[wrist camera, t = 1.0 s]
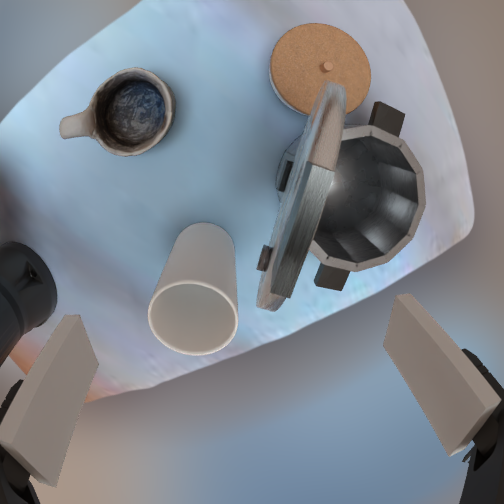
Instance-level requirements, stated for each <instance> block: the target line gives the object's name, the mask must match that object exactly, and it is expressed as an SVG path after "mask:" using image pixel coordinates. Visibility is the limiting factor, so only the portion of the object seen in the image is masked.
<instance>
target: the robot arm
mask: <svg viewBox="0 0 504 504" xmlns="http://www.w3.org/2000/svg"><path fill="white" fill-rule="evenodd" d="M56 302H57V294H56V288H55V284H54V281H53V278H52V276H51V274H50V272H49V270H48V268H47V267H46V265H45V264H44V262H43V261H42V260H41V259H40V257H39V256H38V255H37V254H36V253H35V252H33V251H32V250H31V249H30V248H28V247H26V246H25V245H22V244H20V243H16V242H9V243H5V244H3V245H2V246H0V367H1V365H2V364H3V362H4V361H5V359H6V358H7V357H8V355H9V354H10V352H11V351H12V349H13V348H14V346H15V345H16V344H17V342H18V341H19V340H20V338H21V337H22V336H23V335H24V334H26V333H27V332H29V331H31V330H32V329H33V328H35V327H39V326H41V325H42V324H44V323H45V322H46V321H47V320H48V319H49V317H50V316H51V315H52V313H53V312H54V310H55V307H56ZM383 346H384V348H385V350H386V351H387V353H388V354H389V356H390V357H391V359H392V360H393V362H394V364H395V365H396V367H397V369H398V370H399V372H400V373H401V375H402V377H403V378H404V380H405V382H406V383H407V385H408V386H409V388H410V390H411V391H412V393H413V395H414V396H415V398H416V400H417V401H418V403H419V405H420V406H421V408H422V410H423V412H424V413H425V415H426V417H427V418H428V420H429V422H430V424H431V426H432V427H433V429H434V431H435V432H436V434H437V436H438V438H439V440H440V441H441V443H442V445H443V447H444V449H445V451H446V452H447V454H448V456H451V455H454V454H455V453H458V452H459V451H461V450H463V449H465V448H466V447H467V445H468V444H469V443H470V441H471V440H473V441H474V443H475V445H474V447H473V448H472V449H471V450H470V451H469V452H468V454H466V456H465V457H464V459H463V461H462V462H465V461H466V460H467V459H468V458H469V457H470V456H471V457H470V461H469V462H468V463H469V467H468V472H467V476H466V480H465V484H464V488H463V492H462V496H461V499H460V503H459V504H504V389H503V388H502V386H501V385H500V384H499V383H498V382H497V380H496V379H495V378H494V377H493V376H492V374H491V373H489V372H488V369H487V368H486V367H485V366H483V363H482V362H481V361H480V360H479V359H478V358H477V356H476V355H474V354H472V353H471V352H470V351H468V350H467V349H462V350H461V349H460V348H459V347H458V346H457V345H456V343H455V342H454V341H453V340H452V339H451V338H450V336H449V335H448V334H447V333H446V332H445V331H444V330H443V329H442V327H440V325H439V324H438V323H437V322H436V321H435V320H434V319H433V318H432V316H430V314H429V313H428V312H427V311H426V310H425V309H424V308H423V307H422V306H421V305H420V304H419V303H418V301H417V300H416V299H415V298H414V297H413V296H412V295H411V294H402V295H396V296H395V300H394V304H393V309H392V313H391V317H390V321H389V325H388V329H387V332H386V336H385V340H384V343H383ZM98 365H99V363H98V361H97V359H96V356H95V354H94V351H93V349H92V346H91V344H90V341H89V339H88V336H87V333H86V331H85V328H84V325H83V322H82V319H81V317H80V315H65V316H64V317H63V319H62V320H61V322H60V323H59V325H58V326H57V328H56V329H55V331H54V332H53V334H52V335H51V337H50V338H49V340H48V342H47V343H46V345H45V346H44V348H43V349H42V351H41V353H40V354H39V356H38V358H37V359H36V361H35V362H34V364H33V366H32V367H31V369H30V371H29V373H28V374H27V376H26V378H25V379H24V380H19V381H18V382H17V383H16V384H15V385H14V386H13V387H11V389H10V391H9V393H8V394H7V396H6V400H4V402H3V403H2V405H1V408H0V504H40V502H39V499H38V497H37V495H36V492H35V490H34V487H33V485H32V484H31V482H30V481H29V477H30V474H31V475H32V476H33V477H34V478H35V479H36V480H37V481H39V482H40V483H43V484H46V485H49V486H52V487H56V486H57V483H58V479H59V476H60V472H61V469H62V465H63V462H64V459H65V456H66V452H67V449H68V446H69V443H70V440H71V437H72V434H73V431H74V428H75V425H76V422H77V420H78V417H79V414H80V411H81V409H82V406H83V403H84V401H85V398H86V395H87V393H88V390H89V388H90V385H91V383H92V380H93V378H94V375H95V373H96V370H97V368H98Z"/></svg>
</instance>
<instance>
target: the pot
mask: <svg viewBox="0 0 504 504" xmlns="http://www.w3.org/2000/svg"><path fill="white" fill-rule="evenodd" d="M404 117H405V114H404V113H402V112H400V111H398V110H396V109H394V108H392V107H390V106H388V105H386V104H384V103H382V102H380V101H379V102H375V103H374V106H373V110H372V113H371V117H370V120H369V124H368V125H354V124H344V129H343V135H342V141H341V145H340V150H339V155H338V159H337V163H336V167H335V171H334V172H335V174H334V177H333V180H332V183H331V186H330V189H329V193H328V196H327V200H326V203H325V206H324V209H323V212H322V215H321V218H320V221H319V224H318V227H317V230H316V232H315V235H314V238H313V241H312V243H311V246H310V248H309V250H310V251H311V252H312V253H313V254H314V255H315V256H316V257H317V258H318V259H319V261H320V262H321V263H320V266H319V269H318V271H317V274H316V276H315V279H314V283H315V285H316V286H318V287H323V288H328V289H333V290H338V291H342V289H343V287H344V285H345V282H346V280H347V278H348V276H349V273H350V271H353V272H358V271H362V270H365V269H368V268H372V267H375V266H378V265H381V264H385V263H388V262H389V261H390V260H391V259H392V258H393V257H394V256H395V255H396V254H398V253H399V252H400V251H401V250H402V249H403V248H404V247H405V246H406V245H407V244H408V243H409V242H410V241H411V240H412V238H413V237H414V235H415V232H416V230H417V227H418V225H419V222H420V220H421V217H422V215H423V212H424V209H425V205H426V199H425V185H424V174H423V169H422V167H421V166H420V164H419V163H418V161H417V159H416V158H415V156H414V155H413V153H412V152H411V150H410V149H409V147H408V145H407V144H406V143H405V141H403V139H400V138H399V135H400V131H401V128H402V124H403V121H404ZM301 137H302V135H301V136H300V137H298V138H297V139H296V140H295V141H294V142H293V143H292V144H291V145H290V146H289V148H288V149H287V150H286V152H285V153H284V155H283V157H282V159H281V162H280V165H279V168H278V173H277V179H276V186H277V188H276V189H277V192H278V197H279V200H280V203H281V201H282V197H283V194H284V191H285V188H286V184H287V181H288V178H289V175H290V171H291V168H292V165H293V162H294V159H295V156H296V153H297V149H298V146H299V143H300V140H301ZM387 261H388V262H387Z"/></svg>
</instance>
